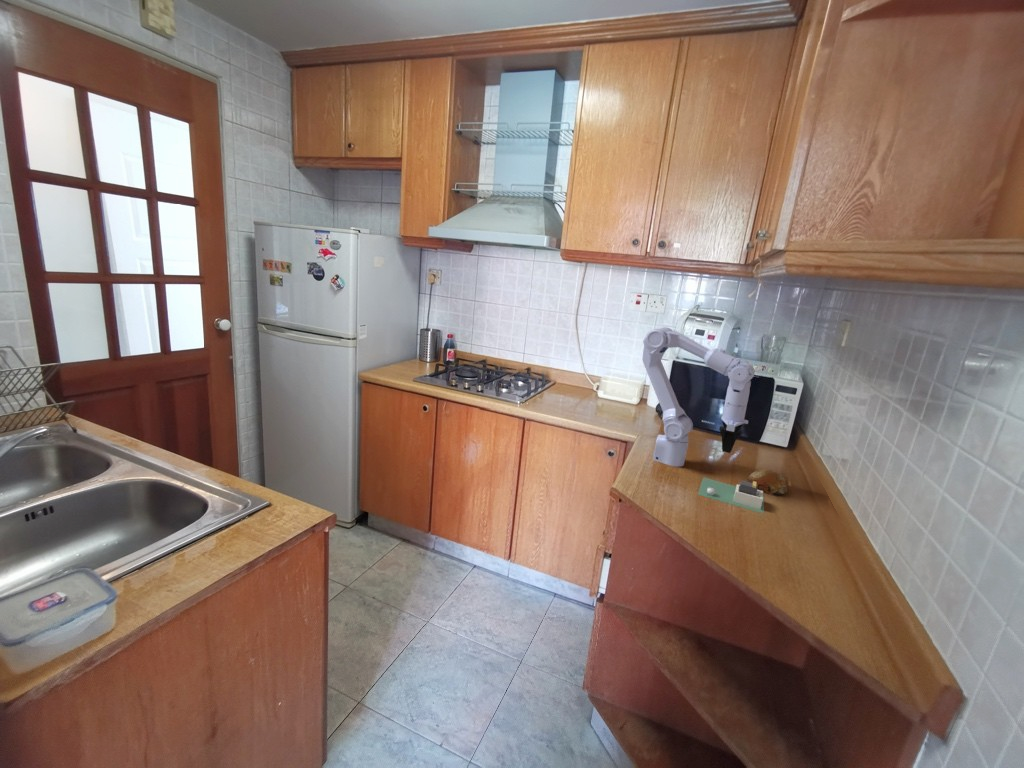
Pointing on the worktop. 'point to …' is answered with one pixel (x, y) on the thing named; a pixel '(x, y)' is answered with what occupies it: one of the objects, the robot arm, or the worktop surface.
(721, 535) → the worktop surface
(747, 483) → the plug
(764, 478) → the bread roll
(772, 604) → the worktop surface
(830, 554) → the worktop surface
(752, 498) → the white rectangular frame
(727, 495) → the board
